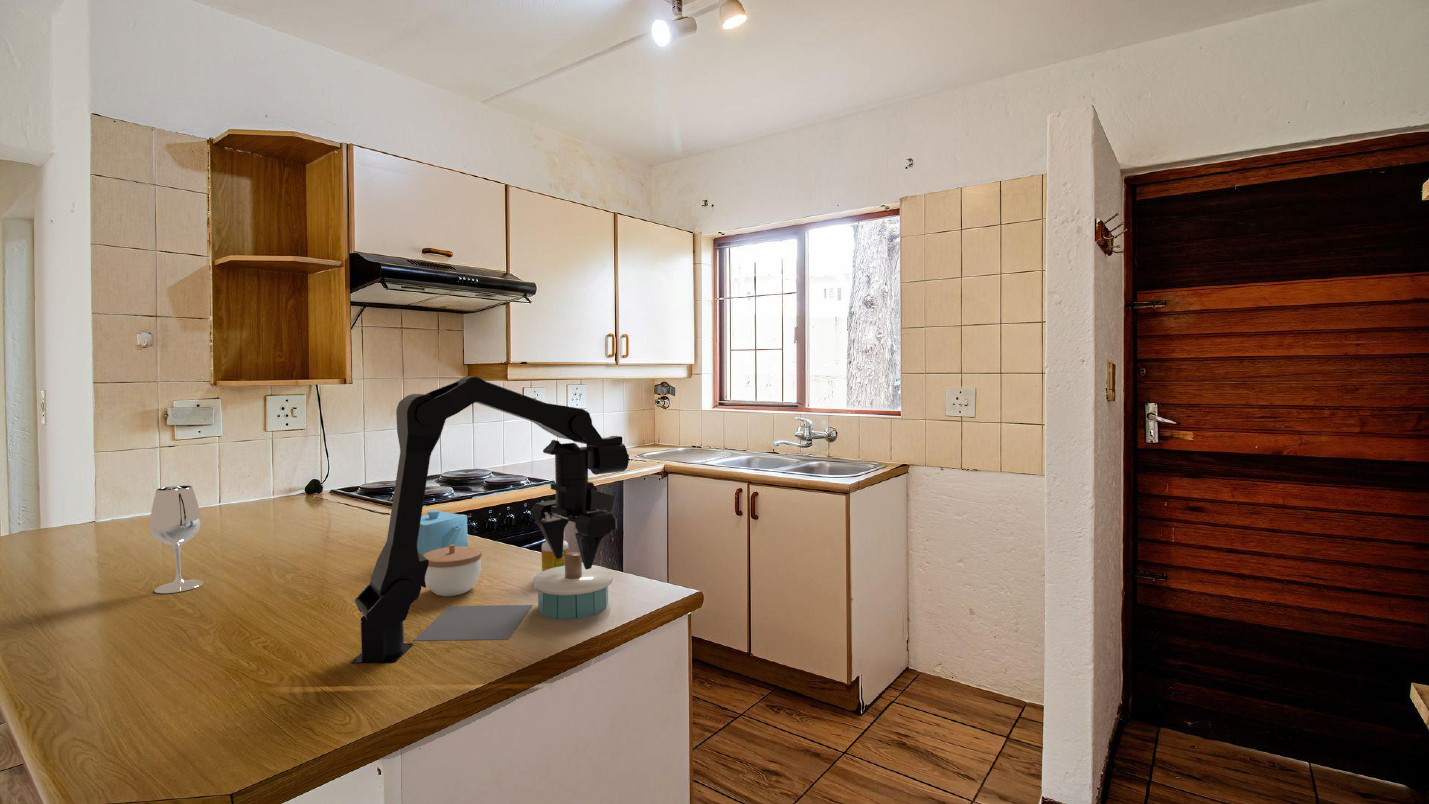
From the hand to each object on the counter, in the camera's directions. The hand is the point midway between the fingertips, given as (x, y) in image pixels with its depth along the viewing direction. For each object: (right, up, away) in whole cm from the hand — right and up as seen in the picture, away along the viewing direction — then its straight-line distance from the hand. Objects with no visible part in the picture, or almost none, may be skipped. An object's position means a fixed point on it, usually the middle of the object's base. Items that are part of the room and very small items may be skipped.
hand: (573, 563), depth 118 cm
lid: (0, -3, 0) cm, 3 cm away
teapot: (-38, -7, +31) cm, 50 cm away
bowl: (0, -8, 0) cm, 8 cm away
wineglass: (-81, -8, +13) cm, 83 cm away
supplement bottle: (-7, -8, +17) cm, 20 cm away
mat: (-15, -9, -7) cm, 18 cm away
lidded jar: (-25, -8, +9) cm, 28 cm away
